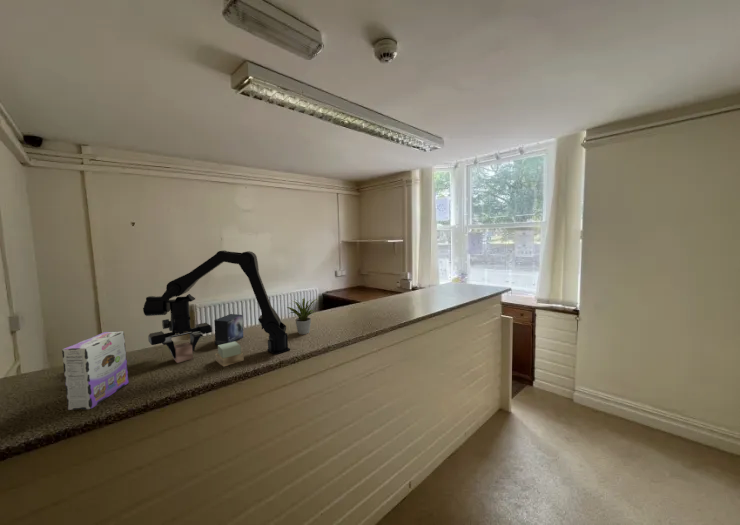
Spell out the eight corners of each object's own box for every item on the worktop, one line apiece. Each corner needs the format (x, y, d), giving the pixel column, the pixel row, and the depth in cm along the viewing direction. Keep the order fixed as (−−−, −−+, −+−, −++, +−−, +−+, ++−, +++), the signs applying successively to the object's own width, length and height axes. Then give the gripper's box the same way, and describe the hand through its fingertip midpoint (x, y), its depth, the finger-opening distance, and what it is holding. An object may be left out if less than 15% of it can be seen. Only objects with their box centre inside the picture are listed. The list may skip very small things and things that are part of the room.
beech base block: (235, 356, 111) (235, 348, 111) (243, 361, 106) (243, 353, 106) (215, 361, 106) (215, 353, 106) (223, 367, 101) (222, 359, 101)
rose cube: (189, 355, 111) (188, 342, 111) (193, 358, 108) (192, 345, 107) (173, 359, 108) (172, 345, 107) (177, 363, 104) (176, 349, 104)
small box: (228, 346, 120) (227, 320, 119) (214, 345, 122) (213, 320, 121) (244, 337, 131) (243, 314, 130) (231, 336, 132) (230, 313, 131)
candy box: (109, 384, 90) (104, 331, 88) (129, 383, 90) (125, 330, 89) (66, 410, 76) (60, 348, 75) (91, 409, 76) (85, 347, 75)
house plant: (310, 325, 148) (309, 292, 146) (326, 331, 137) (325, 296, 136) (284, 331, 138) (282, 297, 137) (299, 339, 128) (297, 301, 126)
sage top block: (235, 349, 110) (235, 341, 110) (241, 353, 106) (240, 345, 105) (218, 353, 106) (217, 345, 106) (222, 358, 102) (222, 350, 101)
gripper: (201, 305, 119) (204, 343, 120) (143, 315, 105) (147, 357, 107) (211, 310, 111) (213, 351, 112) (150, 321, 98) (153, 366, 99)
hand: (183, 356), depth 108 cm, fingers closed on rose cube, 5 cm apart
